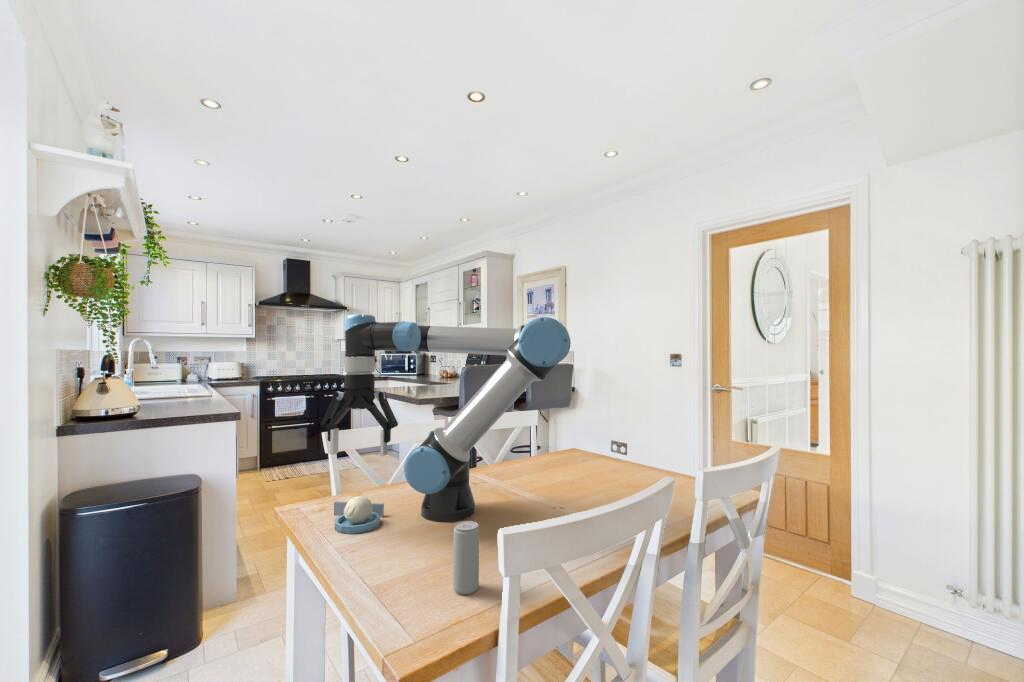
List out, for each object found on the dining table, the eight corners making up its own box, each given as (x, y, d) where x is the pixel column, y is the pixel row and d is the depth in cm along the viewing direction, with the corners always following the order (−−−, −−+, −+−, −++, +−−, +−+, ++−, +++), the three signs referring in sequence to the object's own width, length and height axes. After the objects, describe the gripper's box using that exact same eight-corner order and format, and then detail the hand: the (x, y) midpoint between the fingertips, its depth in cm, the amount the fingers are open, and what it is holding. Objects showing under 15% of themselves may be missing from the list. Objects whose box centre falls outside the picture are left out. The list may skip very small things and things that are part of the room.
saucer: (386, 518, 120) (386, 512, 120) (368, 535, 109) (368, 527, 109) (347, 517, 121) (347, 510, 121) (326, 532, 111) (326, 525, 111)
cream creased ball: (337, 526, 113) (337, 499, 114) (357, 516, 120) (357, 491, 120) (358, 530, 111) (358, 503, 111) (377, 520, 117) (377, 494, 118)
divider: (383, 515, 122) (383, 503, 122) (382, 517, 121) (382, 504, 121) (335, 513, 124) (335, 501, 124) (333, 515, 123) (334, 502, 123)
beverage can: (453, 583, 86) (454, 520, 87) (478, 582, 87) (478, 520, 87) (452, 596, 81) (453, 530, 82) (478, 595, 82) (479, 529, 82)
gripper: (410, 373, 119) (409, 452, 118) (322, 372, 122) (321, 450, 121) (400, 374, 112) (399, 458, 111) (307, 373, 114) (305, 456, 114)
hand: (358, 454), depth 116 cm, fingers open, 13 cm apart
